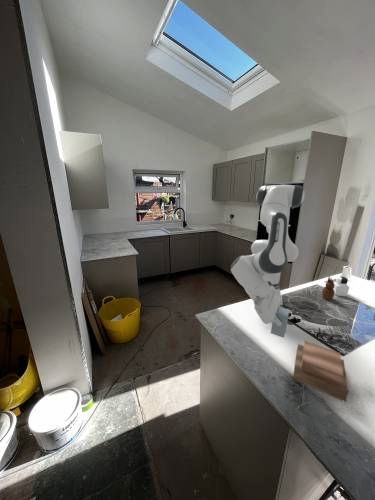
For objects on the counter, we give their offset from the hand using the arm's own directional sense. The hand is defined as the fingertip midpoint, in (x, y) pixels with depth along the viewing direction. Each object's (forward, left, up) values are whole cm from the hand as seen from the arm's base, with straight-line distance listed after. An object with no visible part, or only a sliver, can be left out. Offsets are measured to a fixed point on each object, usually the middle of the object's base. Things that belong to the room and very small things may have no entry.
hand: (281, 320), depth 82 cm
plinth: (0, +15, -18) cm, 24 cm away
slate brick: (0, -1, -6) cm, 6 cm away
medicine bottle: (-82, +27, -18) cm, 88 cm away
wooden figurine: (-70, +20, -18) cm, 75 cm away
